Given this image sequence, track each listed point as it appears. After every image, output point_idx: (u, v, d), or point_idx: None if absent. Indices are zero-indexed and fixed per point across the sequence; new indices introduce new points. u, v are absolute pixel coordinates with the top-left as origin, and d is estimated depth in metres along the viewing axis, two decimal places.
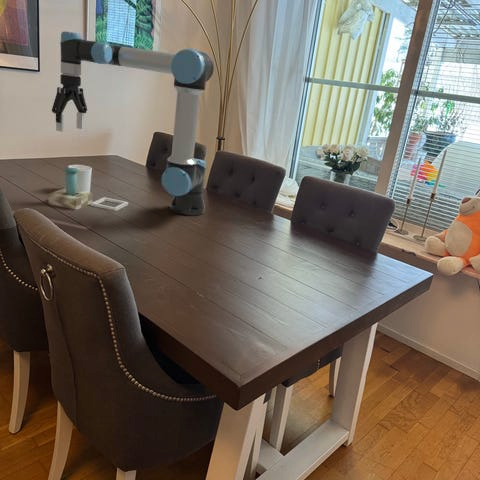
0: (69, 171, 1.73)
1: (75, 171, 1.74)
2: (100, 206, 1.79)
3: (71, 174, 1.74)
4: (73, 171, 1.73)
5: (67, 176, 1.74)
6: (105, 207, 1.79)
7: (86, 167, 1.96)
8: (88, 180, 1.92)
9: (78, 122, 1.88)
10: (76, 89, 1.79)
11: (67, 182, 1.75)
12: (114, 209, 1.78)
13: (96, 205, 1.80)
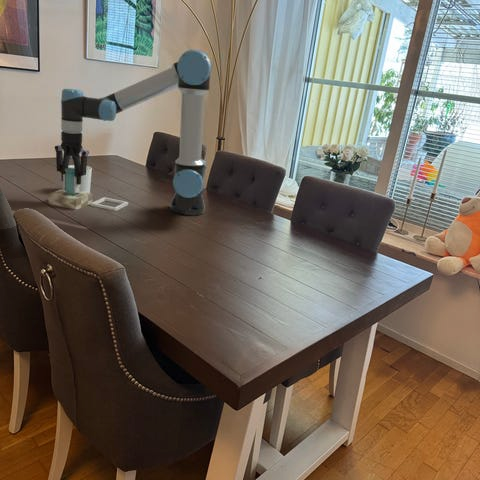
0: (69, 171, 1.73)
1: None
2: (100, 206, 1.79)
3: (71, 174, 1.74)
4: (73, 171, 1.73)
5: (68, 176, 1.74)
6: (105, 207, 1.79)
7: None
8: (88, 180, 1.92)
9: None
10: (76, 146, 1.70)
11: (67, 182, 1.75)
12: (114, 209, 1.78)
13: (96, 205, 1.80)
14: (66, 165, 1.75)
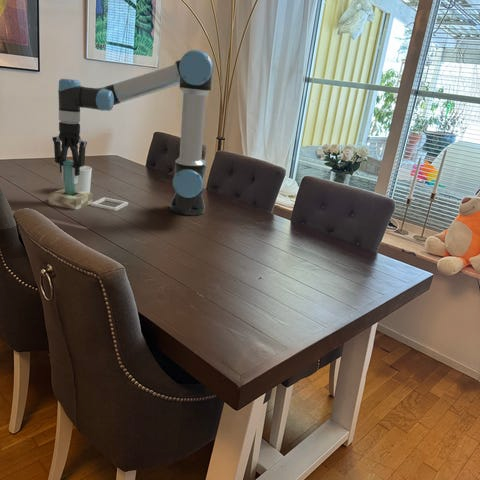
0: (68, 164, 1.72)
1: None
2: (100, 206, 1.79)
3: (70, 167, 1.73)
4: (72, 164, 1.73)
5: (66, 169, 1.73)
6: (105, 207, 1.79)
7: (86, 167, 1.96)
8: (88, 180, 1.92)
9: None
10: (74, 136, 1.69)
11: (66, 175, 1.74)
12: (114, 209, 1.78)
13: (96, 205, 1.80)
14: (64, 156, 1.74)
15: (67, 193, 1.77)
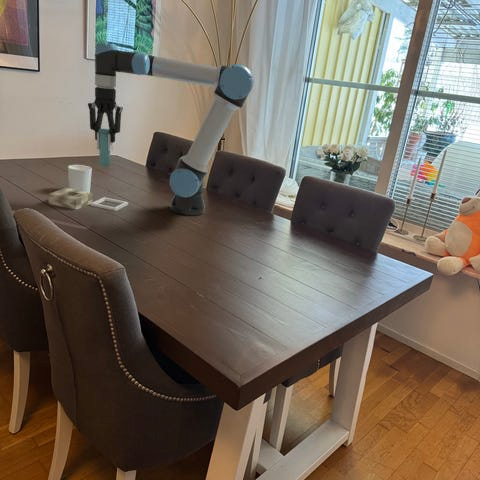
0: (103, 131, 1.71)
1: (109, 131, 1.72)
2: (100, 206, 1.79)
3: (105, 134, 1.72)
4: (107, 131, 1.72)
5: (102, 137, 1.72)
6: (105, 207, 1.79)
7: (86, 167, 1.96)
8: (88, 180, 1.92)
9: None
10: (110, 102, 1.68)
11: (101, 143, 1.73)
12: (114, 209, 1.78)
13: (96, 205, 1.80)
14: (100, 123, 1.73)
15: (102, 162, 1.75)
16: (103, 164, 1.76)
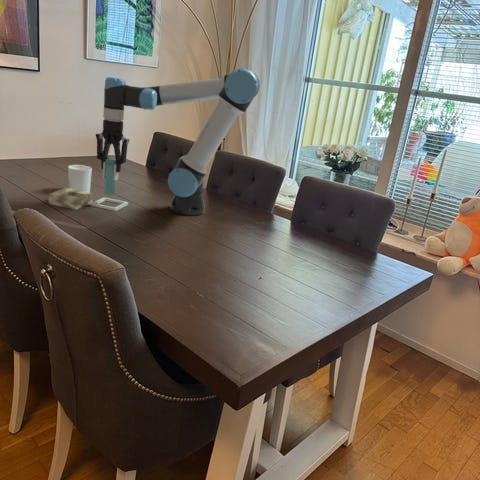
0: (110, 162, 1.76)
1: (115, 162, 1.77)
2: (100, 206, 1.79)
3: (111, 165, 1.77)
4: (113, 162, 1.77)
5: (108, 166, 1.77)
6: (105, 207, 1.79)
7: (86, 167, 1.96)
8: (88, 180, 1.92)
9: None
10: (117, 134, 1.73)
11: (107, 173, 1.78)
12: (114, 209, 1.78)
13: (96, 205, 1.80)
14: (106, 153, 1.78)
15: (107, 190, 1.80)
16: (108, 192, 1.81)
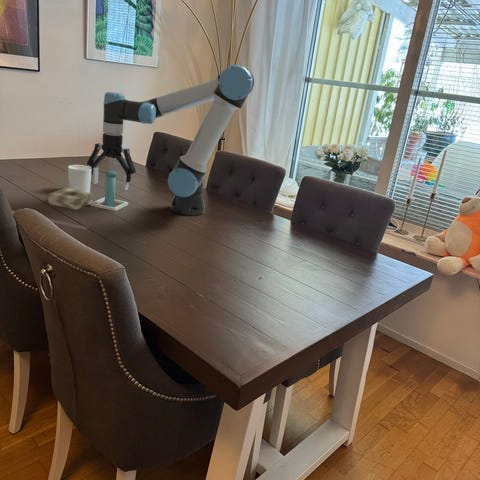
0: (109, 174, 1.78)
1: (115, 174, 1.79)
2: (100, 206, 1.79)
3: (111, 177, 1.79)
4: (113, 174, 1.78)
5: (107, 179, 1.79)
6: (105, 207, 1.79)
7: (86, 167, 1.96)
8: (88, 180, 1.92)
9: None
10: (116, 148, 1.75)
11: (107, 185, 1.80)
12: (114, 209, 1.78)
13: (96, 205, 1.80)
14: (99, 162, 1.80)
15: (107, 202, 1.82)
16: (108, 205, 1.82)
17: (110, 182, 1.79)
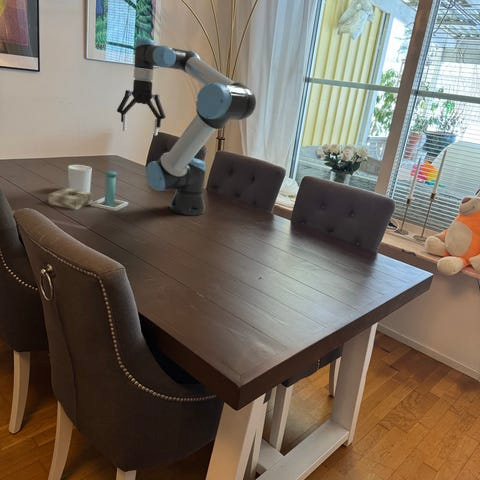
0: (109, 174, 1.78)
1: (115, 174, 1.79)
2: (100, 206, 1.79)
3: (111, 177, 1.79)
4: (113, 174, 1.78)
5: (107, 179, 1.79)
6: (105, 207, 1.79)
7: (86, 167, 1.96)
8: (88, 180, 1.92)
9: None
10: (146, 94, 1.82)
11: (107, 185, 1.80)
12: (114, 209, 1.78)
13: (96, 205, 1.80)
14: (128, 109, 1.86)
15: (107, 202, 1.82)
16: (108, 205, 1.82)
17: (110, 182, 1.79)
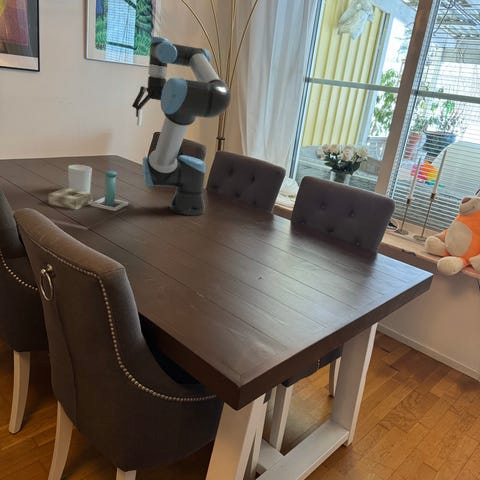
0: (109, 174, 1.78)
1: (115, 174, 1.79)
2: (100, 206, 1.79)
3: (111, 177, 1.79)
4: (113, 174, 1.78)
5: (107, 179, 1.79)
6: (105, 207, 1.79)
7: (86, 167, 1.96)
8: (88, 180, 1.92)
9: None
10: (160, 90, 1.90)
11: (107, 185, 1.80)
12: (114, 209, 1.78)
13: (96, 205, 1.80)
14: (143, 104, 1.94)
15: (107, 202, 1.82)
16: (108, 205, 1.82)
17: (110, 182, 1.79)
